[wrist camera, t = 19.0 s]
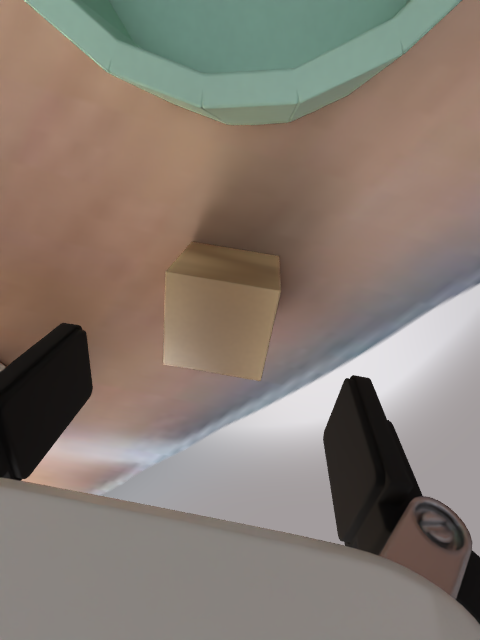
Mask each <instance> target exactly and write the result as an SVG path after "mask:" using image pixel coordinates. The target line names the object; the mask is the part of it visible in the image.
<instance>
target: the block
mask: <svg viewBox="0 0 480 640" xmlns="http://www.w3.org/2000/svg"><path fill="white" fill-rule="evenodd" d="M280 294H281V283H280V265H279V256H275V255H269V254H263V253H257V252H251V251H246V250H240V249H234V248H228V247H222V246H216V245H210V244H204V243H198V242H191V243H190V244H189V246H188V247H187V248H186V249H185V250H184V251H183V252H182V253H181V255H180V256H179V257H178V258H177V259H176V260H175V261H174V262H173V264H172V265H171V266H170V267H169V268H168V269H167V270H166V272H165V305H164V341H163V364H164V365H170V366H176V367H182V368H188V369H193V370H199V371H205V372H211V373H216V374H222V375H228V376H234V377H239V378H245V379H251V380H257V381H261V378H262V373H263V369H264V364H265V360H266V356H267V351H268V347H269V342H270V338H271V333H272V329H273V325H274V320H275V316H276V311H277V307H278V302H279V298H280Z"/></svg>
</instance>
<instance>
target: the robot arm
mask: <svg viewBox="0 0 480 640" xmlns="http://www.w3.org/2000/svg"><path fill="white" fill-rule="evenodd" d="M92 389H93V386H92V378H91V369H90V360H89V352H88V343H87V335H86V332H85V331H84V330H82V327H81V326H79V325H74V324H68V323H62V324H60V325H59V326H57V327H56V328H55V329H54V330H52V331H51V332H50V333H49V334H47V335H46V336H45V337H44V338H42V339H41V340H40V341H38V342H37V343H36V344H35V345H33V346H32V347H31V348H30V349H28V350H27V351H26V352H25V353H23V354H22V355H21V356H20V357H18V358H17V359H16V360H15V361H13V362H12V363H11V364H10V365H8V366H7V367H6V368H4V369H3V370H2V371H1V372H0V640H480V557H479V556H478V555H477V554H476V553H474V552H473V551H472V540H471V536H470V533H469V531H468V529H467V528H466V526H465V524H464V523H463V521H462V520H461V519H460V518H459V517H458V515H457V514H456V513H455V512H454V511H452V510H451V509H450V508H449V507H448V506H446V505H445V504H443V503H441V502H440V501H438V500H435V499H433V498H430V497H424V496H422V494H421V491H420V489H419V486H418V484H417V481H416V479H415V476H414V474H413V472H412V469H411V467H410V465H409V462H408V460H407V458H406V455H405V453H404V450H403V448H402V446H401V443H400V441H399V438H398V436H397V433H396V431H395V429H394V426H393V425H392V423H391V422H390V421H389V420H387V419H386V416H385V414H384V411H383V409H382V406H381V404H380V401H379V399H378V397H377V394H376V391H375V389H374V387H373V384H372V382H371V380H370V379H369V378H365V377H359V376H354V375H353V376H351V378H350V379H348V378H346V379H345V380H344V383H343V385H342V388H341V390H340V393H339V395H338V398H337V400H336V403H335V405H334V408H333V411H332V413H331V416H330V418H329V421H328V423H327V426H326V428H325V431H324V437H323V441H324V448H325V454H326V460H327V466H328V473H329V480H330V485H331V493H332V499H333V505H334V512H335V518H336V525H337V531H338V536H339V539H340V541H344V542H345V546H344V545H340V544H335V543H331V542H326V541H322V540H316V539H312V538H308V537H304V536H299V535H294V534H290V533H285V532H280V531H275V530H270V529H265V528H260V527H255V526H250V525H245V524H240V523H235V522H230V521H226V520H220V519H216V518H211V517H206V516H200V515H196V514H191V513H185V512H180V511H175V510H170V509H165V508H160V507H155V506H150V505H144V504H140V503H134V502H129V501H124V500H119V499H114V498H108V497H104V496H98V495H93V494H88V493H82V492H77V491H72V490H67V489H61V488H56V487H51V486H46V485H40V484H35V483H30V482H24V481H21V480H22V479H26V478H27V477H29V476H30V474H31V473H32V472H33V471H34V469H35V468H36V467H37V465H38V464H39V463H40V461H41V460H42V459H43V458H44V456H45V455H46V454H47V452H48V451H49V450H50V448H51V447H52V446H53V444H54V443H55V442H56V441H57V439H58V438H59V437H60V435H61V434H62V433H63V431H64V430H65V429H66V427H67V426H68V425H69V424H70V422H71V421H72V420H73V418H74V417H75V416H76V414H77V413H78V412H79V411H80V409H81V408H82V407H83V405H84V404H85V403H86V401H87V400H88V399H89V397H90V396H91V393H92Z"/></svg>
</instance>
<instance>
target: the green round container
mask: <svg viewBox="0 0 480 640" xmlns="http://www.w3.org/2000/svg"><path fill="white" fill-rule="evenodd" d="M24 1H25V2H26V3H27V4H28V5H30V6H31V7H32V8H33V9H34V10H35V11H37V12H38V13H39V14H40V15H41V16H42V17H43V18H45V19H46V20H47V21H48V22H49V23H50V24H52V25H53V26H54V27H55V28H56V29H57V30H59V31H60V32H61V33H62V34H63V35H64V36H65V37H67V38H68V39H69V40H70V41H71V42H72V43H74V44H75V45H76V46H77V47H78V48H79V49H81V50H82V51H83V52H84V53H85V54H86V55H87V56H89V57H90V58H91V59H92V60H93V61H94V62H96V63H97V64H98V65H99V66H100V67H101V68H103V69H104V70H105V71H106V72H108V73H110V74H112V75H113V76H115V77H117V78H119V79H121V80H124V81H126V82H128V83H130V84H132V85H134V86H136V87H138V88H141V89H143V90H145V91H147V92H149V93H151V94H153V95H155V96H158V97H160V98H162V99H164V100H166V101H168V102H170V103H172V104H175V105H177V106H180V107H182V108H185V109H188V110H190V111H193V112H195V113H198V114H201V115H203V116H206V117H209V118H211V119H214V120H216V121H219V122H222V123H224V124H227V125H229V124H230V125H261V124H274V123H287V122H292V121H294V120H296V119H298V118H300V117H302V116H305V115H307V114H309V113H312V112H314V111H317V110H319V109H320V108H322V107H324V106H326V105H328V104H331V103H333V102H335V101H337V100H339V99H341V98H344V97H346V96H348V95H349V94H350V93H352V92H353V91H354V90H356V89H357V88H359V87H360V86H361V85H363V84H364V83H365V82H367V81H368V80H369V79H371V78H372V77H373V76H375V75H376V74H378V73H379V72H380V71H382V70H383V69H384V68H386V67H387V66H388V65H390V64H391V63H392V62H394V61H395V60H396V59H398V58H399V57H401V56H402V55H403V54H405V53H406V52H407V51H408V50H409V49H410V48H411V47H412V46H414V45H415V44H416V43H417V42H418V41H419V40H420V39H421V38H422V37H423V36H424V35H425V34H426V33H428V32H429V31H430V30H431V29H432V28H433V27H434V26H435V25H436V24H437V23H438V22H439V21H440V20H442V19H443V18H444V17H445V16H446V15H447V14H448V13H449V12H450V11H451V10H452V9H453V8H454V7H455V6H457V5H458V4H459V3H460V2H461V1H462V0H24Z"/></svg>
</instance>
